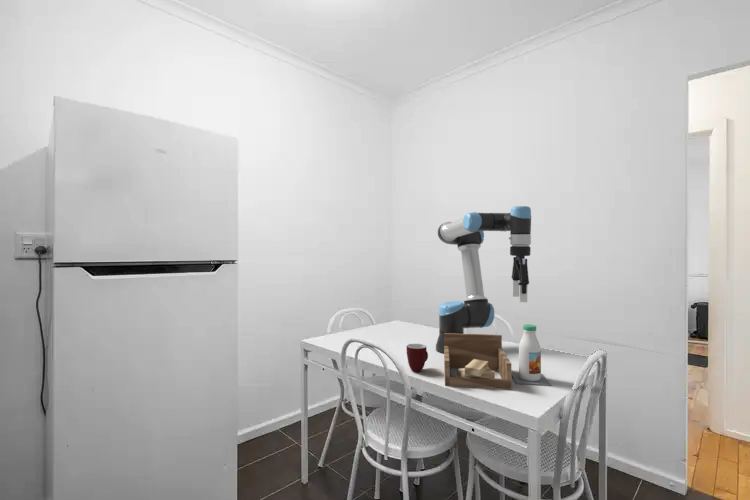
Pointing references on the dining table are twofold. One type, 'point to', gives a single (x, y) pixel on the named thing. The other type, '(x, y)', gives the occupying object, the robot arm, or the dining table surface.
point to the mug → (417, 356)
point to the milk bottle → (529, 355)
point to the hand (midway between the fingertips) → (519, 299)
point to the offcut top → (476, 367)
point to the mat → (542, 381)
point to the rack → (480, 348)
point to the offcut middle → (487, 374)
